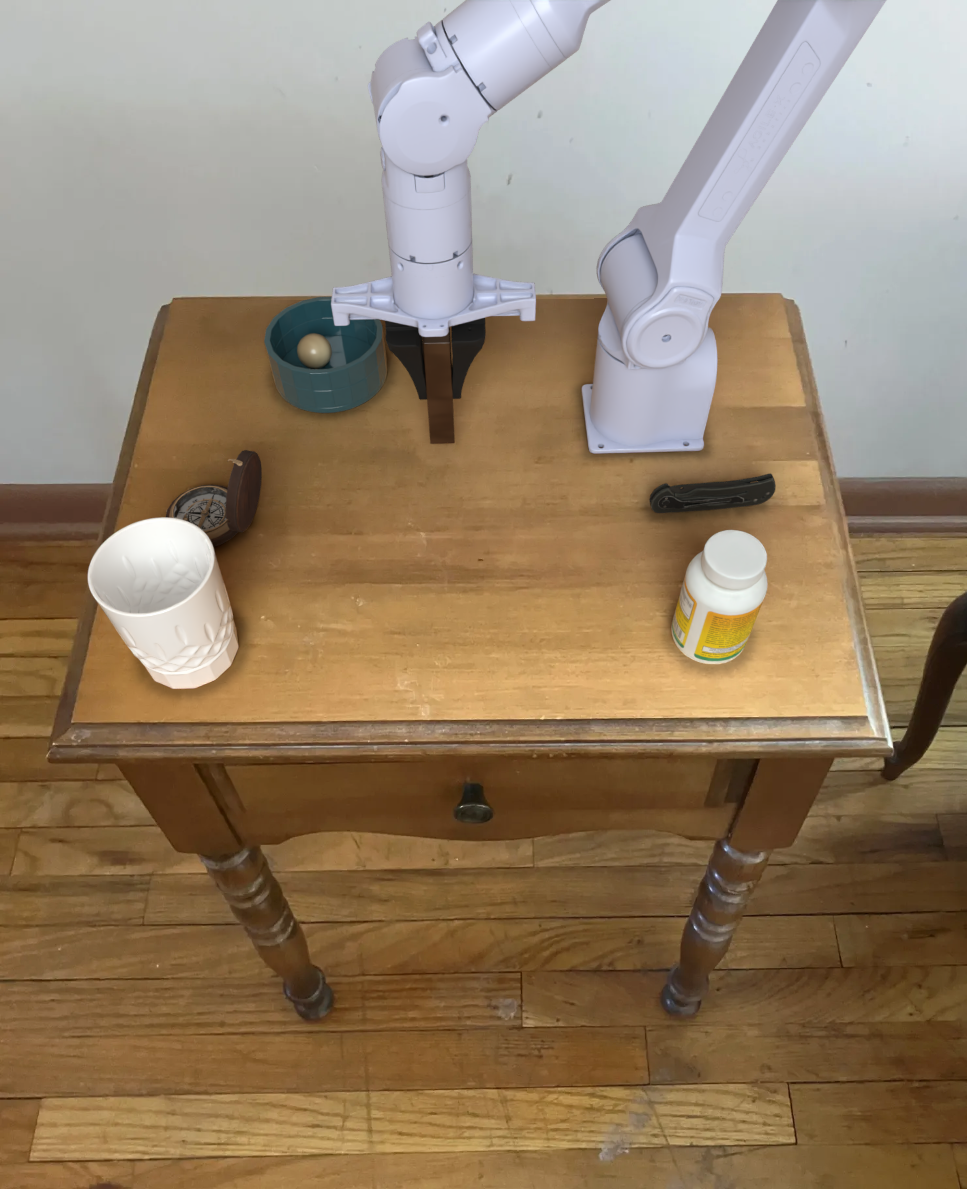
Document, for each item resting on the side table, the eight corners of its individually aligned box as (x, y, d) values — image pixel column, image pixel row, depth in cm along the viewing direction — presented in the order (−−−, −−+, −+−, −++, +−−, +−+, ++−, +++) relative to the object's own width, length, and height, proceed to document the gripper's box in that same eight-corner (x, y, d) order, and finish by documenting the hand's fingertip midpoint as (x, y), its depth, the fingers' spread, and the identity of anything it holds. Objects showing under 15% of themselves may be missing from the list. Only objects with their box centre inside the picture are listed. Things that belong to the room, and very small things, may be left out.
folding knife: (767, 496, 77) (776, 470, 75) (772, 508, 76) (781, 482, 74) (646, 507, 77) (651, 481, 74) (650, 519, 76) (655, 494, 73)
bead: (337, 333, 85) (319, 337, 83) (338, 367, 86) (320, 373, 84) (308, 329, 86) (289, 334, 84) (309, 364, 87) (291, 369, 85)
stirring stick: (454, 427, 80) (450, 325, 72) (454, 443, 79) (450, 342, 71) (430, 427, 80) (423, 326, 72) (430, 444, 79) (422, 343, 71)
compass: (181, 487, 78) (156, 422, 73) (276, 498, 78) (258, 433, 72) (146, 565, 74) (116, 502, 68) (246, 577, 73) (224, 515, 67)
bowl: (389, 335, 89) (384, 294, 86) (385, 411, 83) (380, 371, 80) (280, 338, 89) (271, 297, 86) (268, 415, 83) (258, 374, 80)
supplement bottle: (655, 637, 69) (675, 554, 62) (699, 592, 72) (724, 507, 64) (717, 681, 67) (746, 601, 59) (761, 633, 70) (794, 550, 62)
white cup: (224, 706, 67) (186, 625, 59) (117, 687, 68) (65, 604, 60) (262, 613, 71) (232, 526, 63) (161, 597, 72) (119, 508, 64)
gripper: (318, 277, 63) (344, 428, 74) (540, 272, 63) (534, 424, 74) (325, 214, 67) (350, 366, 78) (535, 209, 67) (529, 362, 78)
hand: (439, 390), depth 77 cm, fingers closed on stirring stick, 2 cm apart
